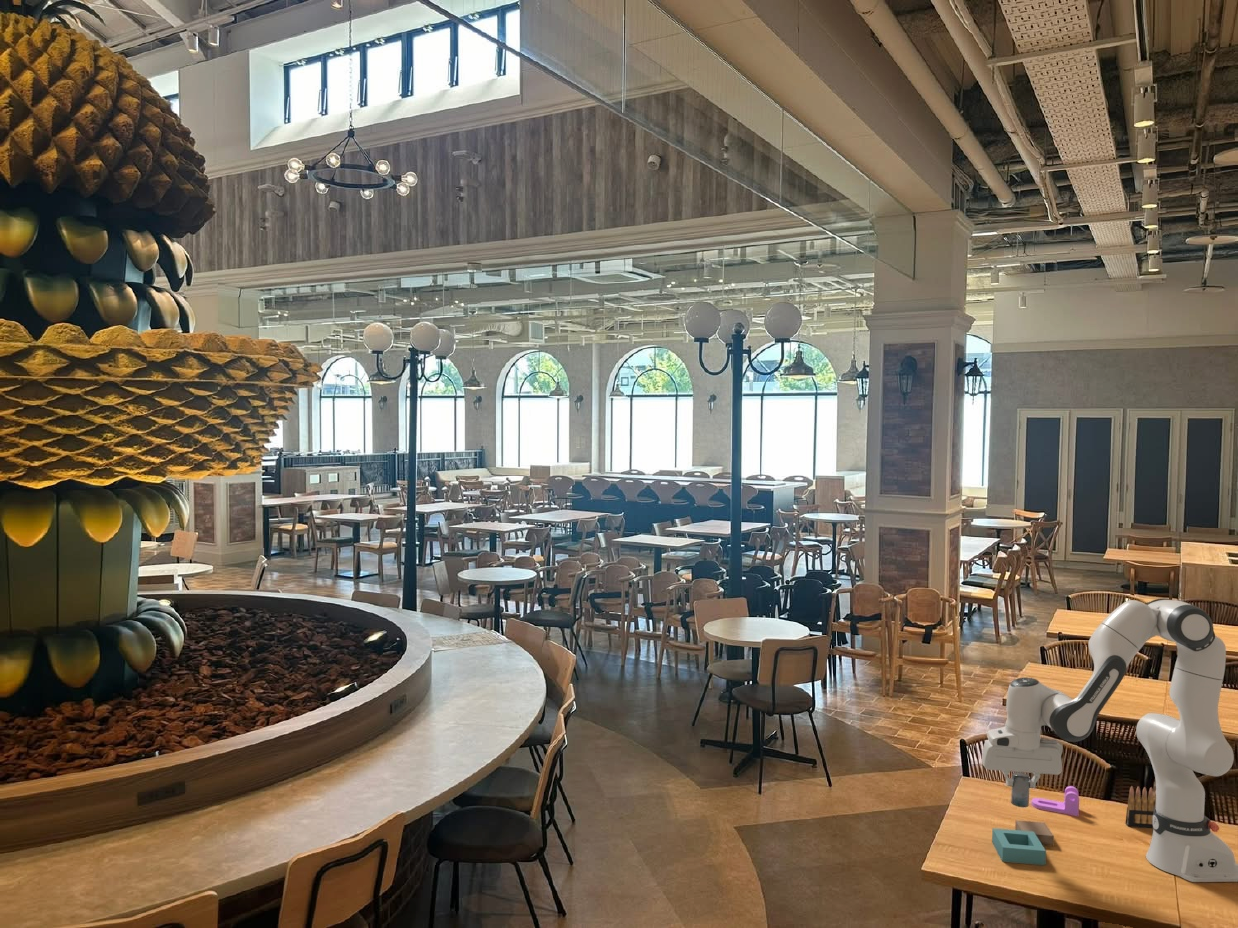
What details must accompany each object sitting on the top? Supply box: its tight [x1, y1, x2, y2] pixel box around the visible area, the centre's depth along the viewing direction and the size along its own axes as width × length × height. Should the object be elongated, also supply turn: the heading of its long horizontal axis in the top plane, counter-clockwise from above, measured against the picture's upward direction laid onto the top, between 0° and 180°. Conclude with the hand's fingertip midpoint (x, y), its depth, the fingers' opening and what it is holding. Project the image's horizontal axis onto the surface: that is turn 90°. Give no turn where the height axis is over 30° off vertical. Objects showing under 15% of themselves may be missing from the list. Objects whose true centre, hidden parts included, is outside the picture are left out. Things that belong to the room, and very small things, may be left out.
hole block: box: [991, 827, 1047, 866], centre depth 244 cm, size 11×11×4 cm
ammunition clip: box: [1125, 785, 1156, 829], centre depth 260 cm, size 11×2×12 cm, turn 82°
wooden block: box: [1014, 820, 1055, 847], centre depth 252 cm, size 8×8×3 cm
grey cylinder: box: [1010, 772, 1031, 808], centre depth 243 cm, size 4×4×8 cm
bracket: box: [1030, 785, 1080, 817], centre depth 271 cm, size 13×6×7 cm, turn 64°
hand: (1020, 786), depth 243 cm, fingers closed on grey cylinder, 4 cm apart
